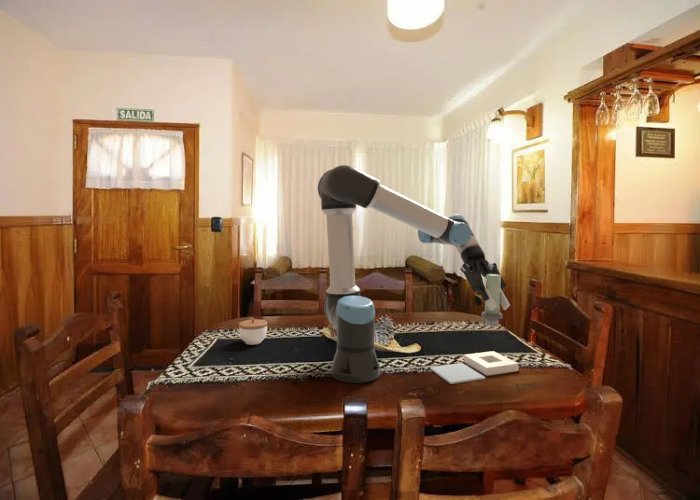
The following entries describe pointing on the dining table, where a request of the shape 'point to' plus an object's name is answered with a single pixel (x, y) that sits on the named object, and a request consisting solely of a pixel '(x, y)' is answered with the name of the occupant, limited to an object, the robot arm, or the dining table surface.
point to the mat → (457, 373)
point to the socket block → (486, 367)
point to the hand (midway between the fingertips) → (500, 307)
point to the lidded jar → (253, 331)
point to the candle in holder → (494, 288)
